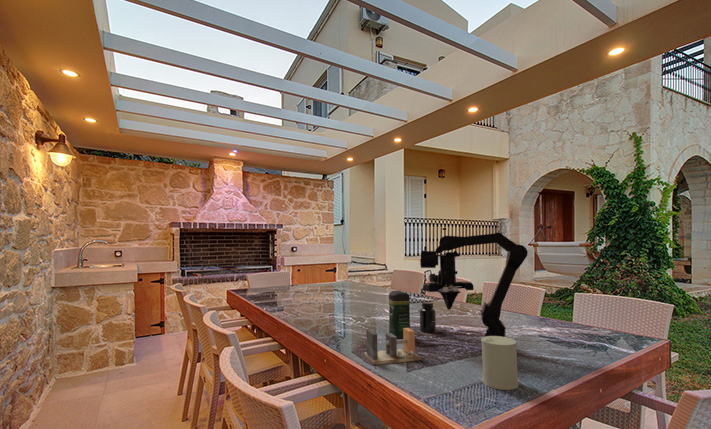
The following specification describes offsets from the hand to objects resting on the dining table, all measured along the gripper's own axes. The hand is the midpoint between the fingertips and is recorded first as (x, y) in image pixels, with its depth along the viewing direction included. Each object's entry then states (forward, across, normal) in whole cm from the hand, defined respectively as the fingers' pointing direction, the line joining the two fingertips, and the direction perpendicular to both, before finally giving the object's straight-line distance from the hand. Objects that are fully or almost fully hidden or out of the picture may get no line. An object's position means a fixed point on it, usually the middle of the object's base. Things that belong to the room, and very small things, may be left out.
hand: (448, 309), depth 135 cm
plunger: (+12, +24, +10) cm, 28 cm away
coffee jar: (+13, +14, -16) cm, 25 cm away
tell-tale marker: (+11, +25, +13) cm, 30 cm away
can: (+13, +6, +37) cm, 39 cm away
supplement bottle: (+13, -1, -21) cm, 25 cm away
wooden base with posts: (+13, +27, +9) cm, 31 cm away
